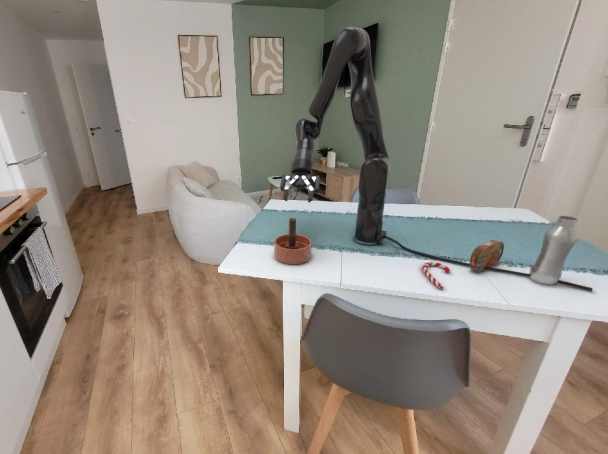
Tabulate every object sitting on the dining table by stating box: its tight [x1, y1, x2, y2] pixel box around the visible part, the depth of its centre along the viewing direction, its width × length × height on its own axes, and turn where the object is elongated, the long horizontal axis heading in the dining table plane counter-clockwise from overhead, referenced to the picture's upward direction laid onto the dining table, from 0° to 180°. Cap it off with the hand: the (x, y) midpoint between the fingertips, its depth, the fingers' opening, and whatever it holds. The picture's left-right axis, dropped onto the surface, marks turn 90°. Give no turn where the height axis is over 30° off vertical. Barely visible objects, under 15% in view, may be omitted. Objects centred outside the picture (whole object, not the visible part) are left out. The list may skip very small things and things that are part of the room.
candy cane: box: [421, 261, 451, 290], centre depth 90 cm, size 8×1×15 cm
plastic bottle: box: [528, 215, 579, 285], centre depth 82 cm, size 6×7×20 cm
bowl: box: [273, 233, 313, 265], centre depth 105 cm, size 13×13×6 cm
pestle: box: [285, 217, 299, 249], centre depth 104 cm, size 5×5×14 cm
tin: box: [468, 239, 505, 273], centre depth 93 cm, size 15×3×8 cm, turn 117°
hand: (297, 200), depth 106 cm, fingers open, 8 cm apart
